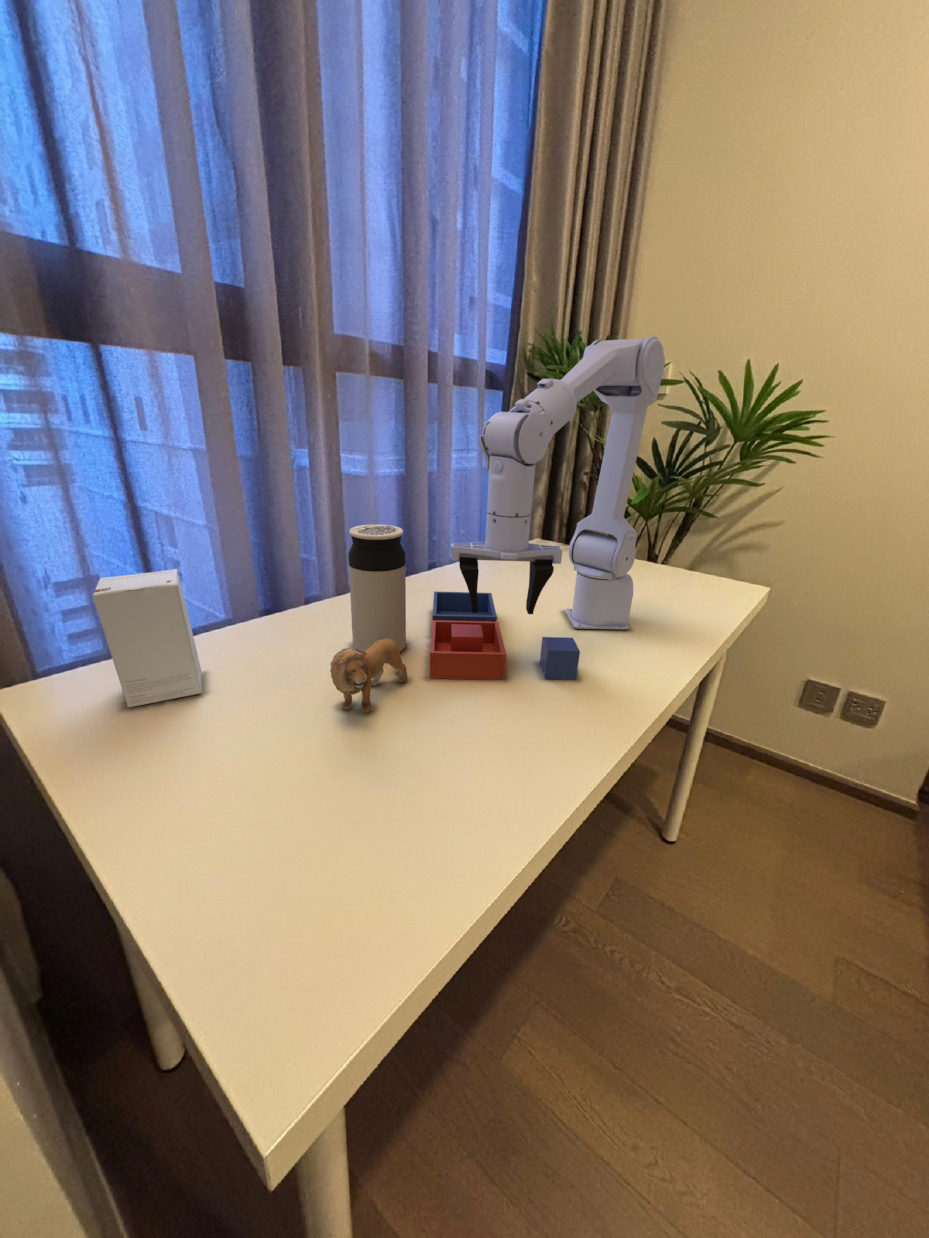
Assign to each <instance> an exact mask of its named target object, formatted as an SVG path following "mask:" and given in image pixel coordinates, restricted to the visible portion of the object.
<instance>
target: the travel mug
mask: <svg viewBox="0 0 929 1238" xmlns="http://www.w3.org/2000/svg"><path fill="white" fill-rule="evenodd" d="M348 534H349V535H350V536H351V541H352V545H351V546H350V549H349V551H348V553H347V555H348V576H349V592H350V593H349V596H350V613H351V614H350V615H351V633H352V647H353V649H358V650H360V651H361V652H364V651H365V650H367V649H368V648H369V647H370V646H372V644H373V643H374V642H376V641H377V640H382V639H392V640H394V641H395V642H396V643H397V645H398V647H399V651H400V652H401V651H403V650H404V649H405V647H406V645H407V613H406V612H407V603H406V602H407V601H406V600H407V599H406V598H407V597H406V596H407V595H406V594H407V593H406V592H407V591H406V586H407V585H406V578H407V577H406V551H405V549H404V547H403V545H402V543H401V542H402V536H403V534H404V529H403V528H402V527H399V526H396V525H393V524H384V523H383V524H381V523H379V524H378V523H375V524H373V523H371V524H360V525H356V526H353V527H351V528H350V529H349V530H348Z"/></svg>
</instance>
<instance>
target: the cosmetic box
mask: <svg viewBox="0 0 929 1238" xmlns="http://www.w3.org/2000/svg"><path fill="white" fill-rule="evenodd" d="M92 599H93V602H94V605H95V608H96V611H97V614H98V617H99V620H100V623H101V627H102V630H103V633H104V636H105V637H104V638H105V641H106V644H107V646H108V649H109V653H110V655H111V658H112V662H113V665H114V668H115V671H116V674H117V678H118V681H119V684H120V687H121V691H122V693H123V697H124V699H125V703H126V705H127V706H126V707H127V708H134V707H138V706H143V705H149V704H153V703H158V702H163V701H168V700H173V699H179V698H184V697H190V696H194V695H200V694H202V692H203V691H202V689H203V688H202V687H203V686H202V685H203V683H202V682H203V681H202V679H203V678H202V667H201V663H200V659H199V658H200V657H199V655H198V650H197V646H196V642H195V637H194V634H193V630H192V625H191V621H190V616H189V612H188V608H187V604H186V599H185V595H184V591H183V586H182V582H181V579H180V574H179V571H178V569H177V568H174V569H167V570H166V569H165V570H158V571H150V572H142V573H134V574H125V575H117V576H116V575H115V576H107V577H100V578H99V580H98V583H97V585H96V587H95V589H94V592H93V594H92Z"/></svg>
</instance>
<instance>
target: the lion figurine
mask: <svg viewBox="0 0 929 1238" xmlns="http://www.w3.org/2000/svg"><path fill="white" fill-rule="evenodd" d="M329 664H330V669H329V672H330V677H331V681H332V684H333V685H334V686H335V688H336V690H337V691H339V692H340V693H341V694H342V695H343V698H344V701H342V702H341V705H340V707H341V709H342V710H349V709H350V708H351V707H352V706H353V696H354V695H357V694H359V693H360V692H361V698H362V699H361V708H360V709H361V712H362V713H370V712H372V710H373V709H372V702H371V693H372V692H371V691H372V687H374V686H377V685H378V684H379V683H380V681H381V678H382V676H383V675H384V672H385V671H384V666H385V665H386V664H387V665H389V666H391V667H392V668H393V669H394V670H395V671H399V672H400V675H399V676H398V677H397V681H398V682H399V683H406V682H407V681H408V674H407V666H406V664H405V663H404V662H403V660H402V657H401V651H399V647H398V645H397V643H396V642H395V641H394V640H392V639H382V640H377V641H376V642H374V643H373V644H372V646H370V647H369V648H368V649H367V650H365V651H364V652H361V651H360V650H358V649H354V647H353V648H352V647H347V648H342V649H341V650H340V651H339V650H338V652H337V653H336V654H334V656H333V658H332V660H331V661H330V663H329Z"/></svg>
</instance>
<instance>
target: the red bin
mask: <svg viewBox="0 0 929 1238" xmlns="http://www.w3.org/2000/svg"><path fill="white" fill-rule="evenodd" d="M452 624H469V625H481V626H482V632H483V651H482V652H451V625H452ZM429 643H430V645H429V679H440V680H441V679H443V680H448V679H449V680H500V681H501V680H502V681H503V680H505V674H506V673H505V671H506V659H507V653H506V648H505V644H504V640H503V637H502V632H501V628H500V624H499V621H497V622H491V621H447V620H432V619H431V629H430V642H429Z"/></svg>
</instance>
